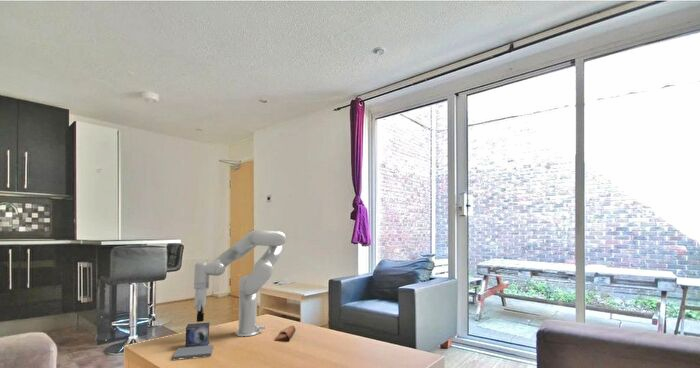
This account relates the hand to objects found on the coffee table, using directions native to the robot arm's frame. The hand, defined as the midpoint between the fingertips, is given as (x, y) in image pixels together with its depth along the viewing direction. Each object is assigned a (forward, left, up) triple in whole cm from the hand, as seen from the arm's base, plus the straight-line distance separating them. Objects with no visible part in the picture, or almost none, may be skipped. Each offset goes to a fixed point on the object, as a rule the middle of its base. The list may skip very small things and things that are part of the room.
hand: (200, 321), depth 196 cm
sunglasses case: (-44, +7, -10) cm, 45 cm away
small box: (0, +11, -10) cm, 15 cm away
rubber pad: (0, +22, -9) cm, 24 cm away
